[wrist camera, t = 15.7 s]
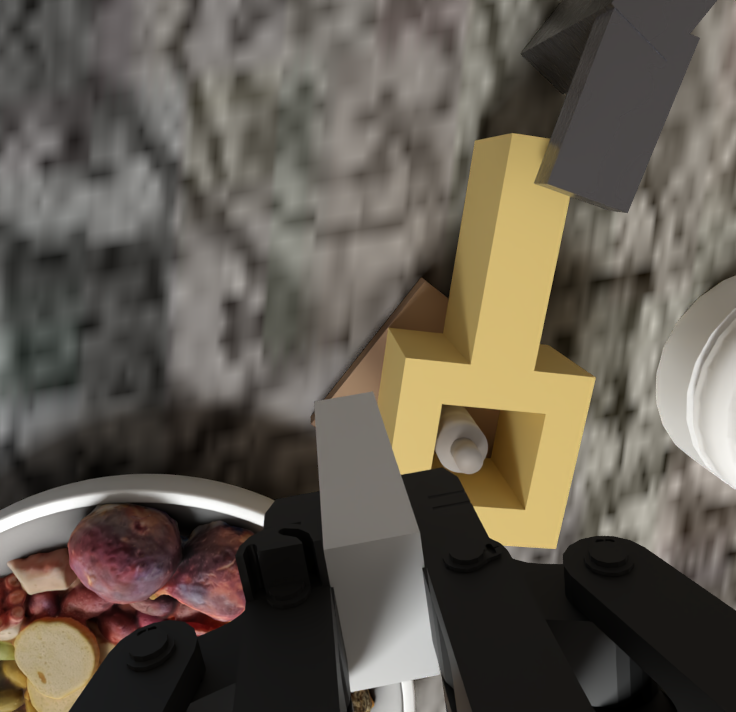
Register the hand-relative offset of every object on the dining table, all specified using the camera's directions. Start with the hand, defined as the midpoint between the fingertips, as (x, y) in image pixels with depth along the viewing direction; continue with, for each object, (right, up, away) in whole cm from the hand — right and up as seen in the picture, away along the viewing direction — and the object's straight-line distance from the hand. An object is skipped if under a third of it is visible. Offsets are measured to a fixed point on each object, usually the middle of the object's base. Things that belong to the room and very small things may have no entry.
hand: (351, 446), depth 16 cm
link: (+6, +4, +19) cm, 20 cm away
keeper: (+9, +15, +17) cm, 24 cm away
